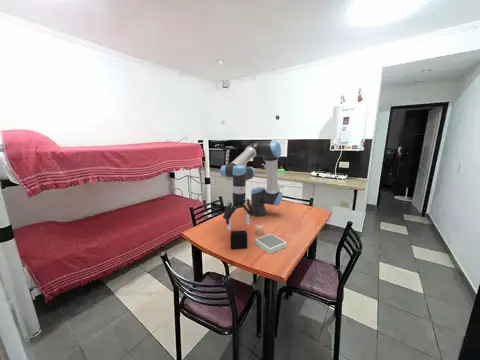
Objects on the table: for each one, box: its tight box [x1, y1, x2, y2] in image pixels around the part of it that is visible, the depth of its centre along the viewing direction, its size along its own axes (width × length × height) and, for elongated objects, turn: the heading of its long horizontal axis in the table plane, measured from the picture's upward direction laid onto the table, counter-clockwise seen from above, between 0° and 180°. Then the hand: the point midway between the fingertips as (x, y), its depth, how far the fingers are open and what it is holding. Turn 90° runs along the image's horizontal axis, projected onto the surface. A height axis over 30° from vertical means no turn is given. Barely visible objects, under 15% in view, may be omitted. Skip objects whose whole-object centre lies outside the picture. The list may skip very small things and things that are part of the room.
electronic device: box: [229, 230, 248, 250], centre depth 123 cm, size 4×10×10 cm, turn 95°
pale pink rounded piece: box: [254, 223, 265, 237], centre depth 141 cm, size 6×6×6 cm
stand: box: [254, 233, 288, 255], centre depth 126 cm, size 14×14×3 cm
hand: (238, 226), depth 120 cm, fingers open, 13 cm apart
